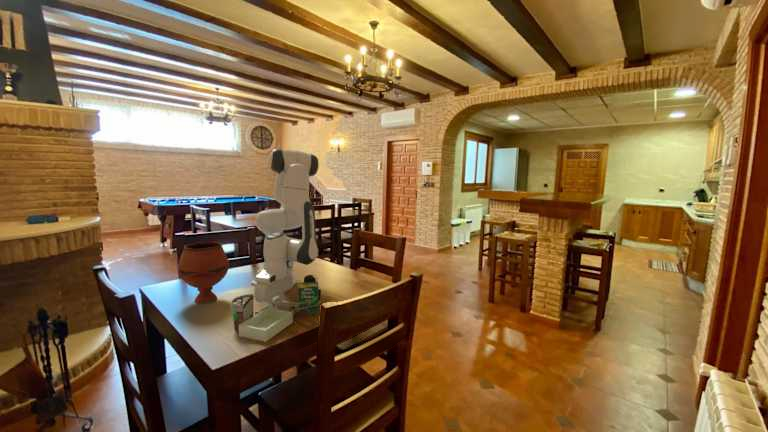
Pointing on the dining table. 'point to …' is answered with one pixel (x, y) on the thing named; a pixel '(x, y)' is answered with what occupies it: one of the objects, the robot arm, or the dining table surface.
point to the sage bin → (265, 324)
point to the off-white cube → (277, 302)
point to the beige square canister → (313, 279)
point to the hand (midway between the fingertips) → (275, 305)
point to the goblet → (203, 268)
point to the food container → (242, 309)
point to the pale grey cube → (286, 307)
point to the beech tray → (283, 302)
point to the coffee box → (308, 298)
